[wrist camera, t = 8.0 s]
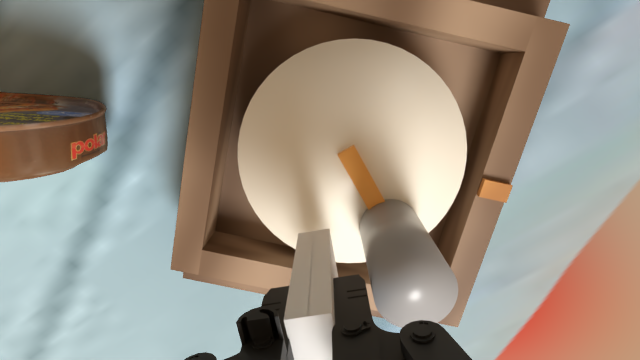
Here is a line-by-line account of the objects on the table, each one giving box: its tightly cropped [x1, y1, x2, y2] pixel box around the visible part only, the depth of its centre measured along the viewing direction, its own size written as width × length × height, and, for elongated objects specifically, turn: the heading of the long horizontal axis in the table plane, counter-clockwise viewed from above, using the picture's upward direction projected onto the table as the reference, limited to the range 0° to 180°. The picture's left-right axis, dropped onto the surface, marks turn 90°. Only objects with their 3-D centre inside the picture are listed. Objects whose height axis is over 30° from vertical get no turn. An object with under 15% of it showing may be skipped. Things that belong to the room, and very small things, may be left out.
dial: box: [238, 39, 467, 328], centre depth 17 cm, size 11×11×8 cm
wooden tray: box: [171, 0, 570, 327], centre depth 21 cm, size 16×20×5 cm
